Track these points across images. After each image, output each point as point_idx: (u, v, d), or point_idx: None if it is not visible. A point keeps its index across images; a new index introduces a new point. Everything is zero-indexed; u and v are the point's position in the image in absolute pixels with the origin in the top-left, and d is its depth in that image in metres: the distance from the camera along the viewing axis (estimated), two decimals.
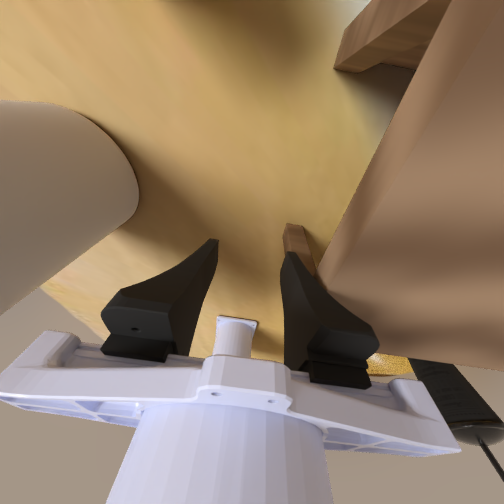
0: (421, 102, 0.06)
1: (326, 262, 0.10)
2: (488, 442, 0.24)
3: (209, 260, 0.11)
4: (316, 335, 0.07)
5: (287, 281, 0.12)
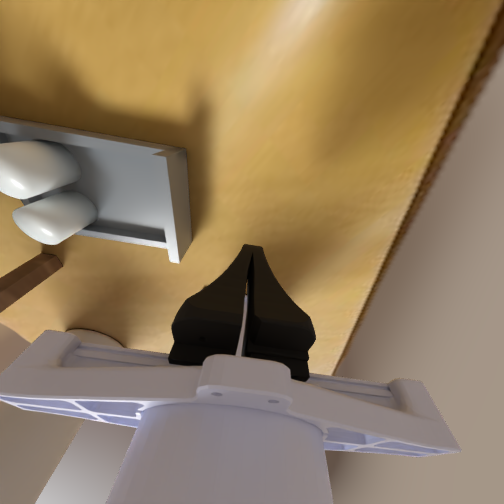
0: None
1: None
2: None
3: (249, 266, 0.11)
4: (253, 326, 0.07)
5: (250, 275, 0.12)
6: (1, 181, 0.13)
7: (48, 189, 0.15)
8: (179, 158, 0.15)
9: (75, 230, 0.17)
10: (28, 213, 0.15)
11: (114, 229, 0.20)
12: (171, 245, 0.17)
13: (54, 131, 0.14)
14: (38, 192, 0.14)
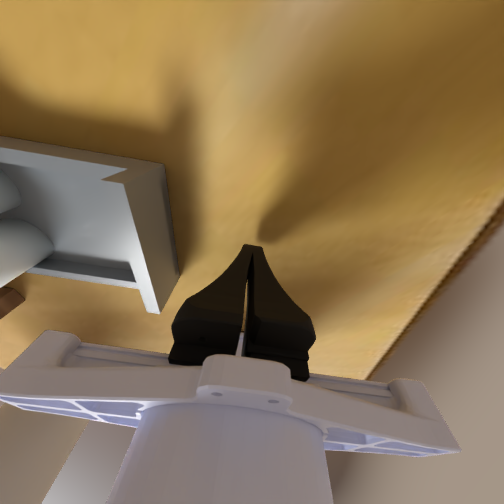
0: None
1: None
2: None
3: (249, 266, 0.11)
4: (253, 326, 0.07)
5: (250, 275, 0.12)
6: None
7: None
8: (152, 180, 0.10)
9: (15, 274, 0.13)
10: None
11: (77, 265, 0.16)
12: (147, 295, 0.13)
13: None
14: None
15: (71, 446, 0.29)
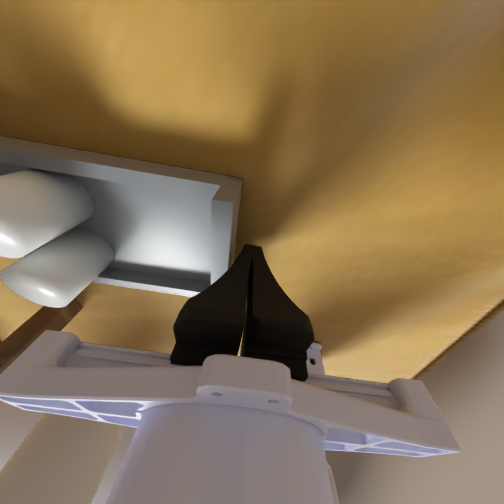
0: None
1: None
2: None
3: (250, 266, 0.11)
4: (252, 326, 0.07)
5: (249, 275, 0.12)
6: None
7: (50, 239, 0.10)
8: (239, 195, 0.10)
9: (87, 284, 0.13)
10: (23, 274, 0.10)
11: (135, 273, 0.16)
12: None
13: (59, 158, 0.09)
14: (36, 247, 0.10)
15: (113, 451, 0.29)
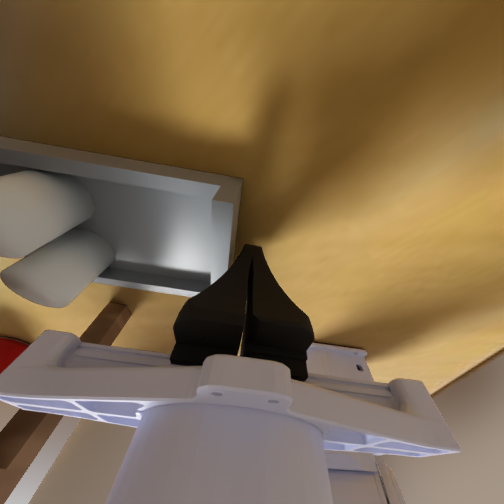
0: None
1: None
2: None
3: (250, 266, 0.11)
4: (251, 326, 0.07)
5: (249, 275, 0.12)
6: None
7: (51, 239, 0.10)
8: (239, 195, 0.10)
9: (87, 285, 0.13)
10: (23, 274, 0.10)
11: (135, 273, 0.16)
12: None
13: (60, 159, 0.09)
14: (36, 248, 0.10)
15: None
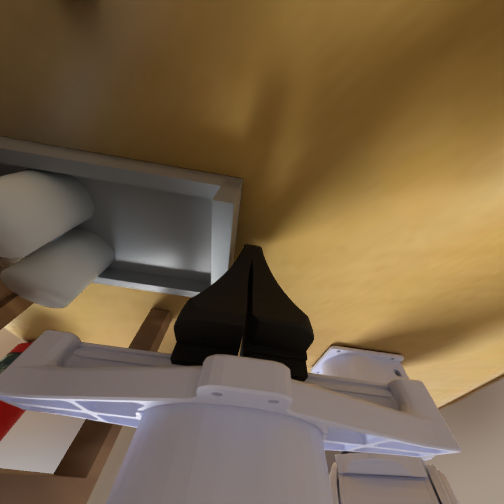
0: None
1: None
2: None
3: (250, 266, 0.11)
4: (251, 326, 0.07)
5: (249, 275, 0.12)
6: None
7: (51, 240, 0.10)
8: (239, 195, 0.10)
9: (87, 285, 0.13)
10: (23, 274, 0.10)
11: (135, 274, 0.16)
12: None
13: (59, 159, 0.09)
14: (36, 248, 0.10)
15: None
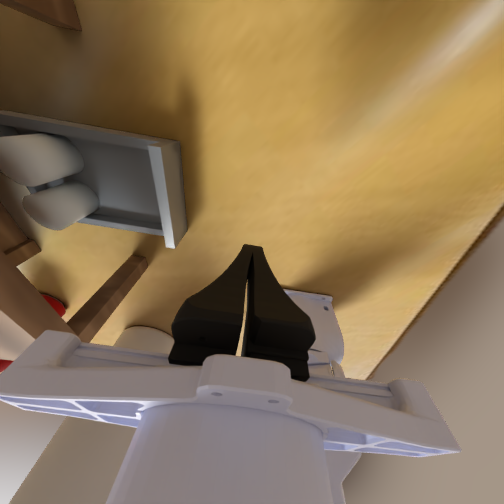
0: None
1: None
2: None
3: (249, 266, 0.11)
4: (253, 326, 0.07)
5: (250, 275, 0.12)
6: (13, 170, 0.15)
7: (54, 178, 0.16)
8: (173, 150, 0.16)
9: (79, 217, 0.19)
10: (37, 199, 0.16)
11: (114, 218, 0.22)
12: (167, 231, 0.19)
13: (60, 125, 0.15)
14: (46, 180, 0.16)
15: None
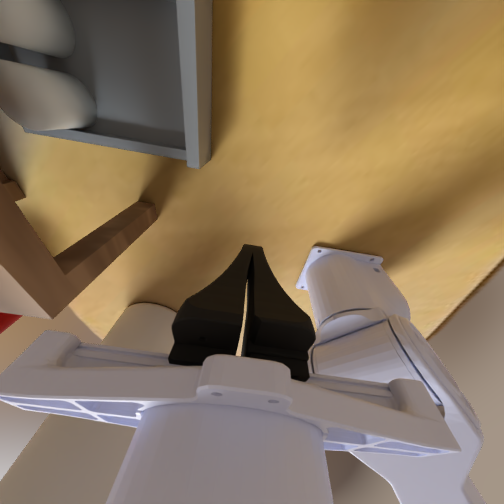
0: None
1: None
2: None
3: (249, 266, 0.11)
4: (253, 326, 0.07)
5: (250, 275, 0.12)
6: None
7: (30, 38, 0.11)
8: None
9: (68, 118, 0.14)
10: (4, 68, 0.11)
11: (117, 136, 0.17)
12: (190, 137, 0.14)
13: None
14: (15, 31, 0.10)
15: None
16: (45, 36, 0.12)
